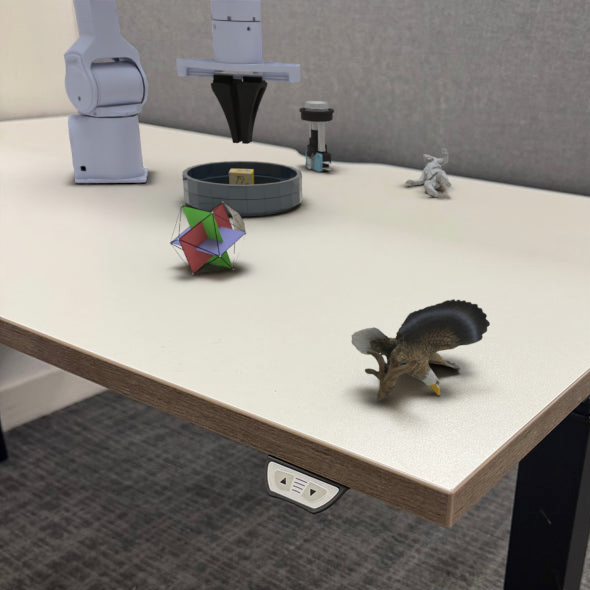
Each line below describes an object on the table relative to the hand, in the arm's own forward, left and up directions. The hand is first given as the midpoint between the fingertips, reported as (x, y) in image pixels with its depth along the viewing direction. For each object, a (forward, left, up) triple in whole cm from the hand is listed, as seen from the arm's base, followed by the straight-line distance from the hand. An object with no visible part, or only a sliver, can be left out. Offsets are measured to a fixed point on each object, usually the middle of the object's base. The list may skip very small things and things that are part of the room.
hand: (242, 142), depth 98 cm
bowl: (0, +4, -8) cm, 9 cm away
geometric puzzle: (-5, -23, -9) cm, 26 cm away
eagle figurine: (+10, -52, -9) cm, 54 cm away
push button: (+13, +25, -9) cm, 29 cm away
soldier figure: (+28, +11, -9) cm, 31 cm away
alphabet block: (0, +7, -8) cm, 10 cm away
